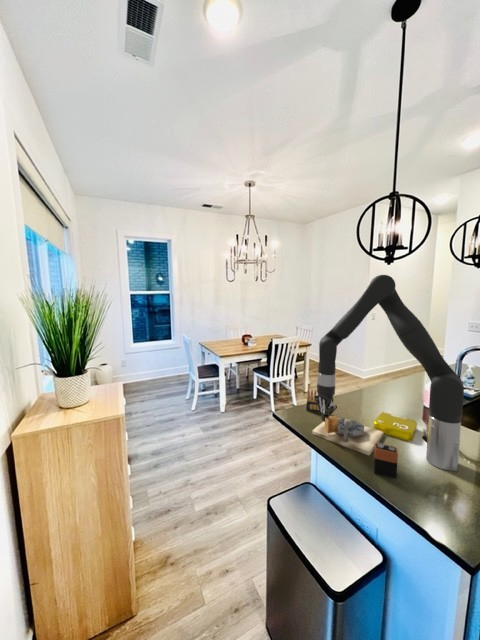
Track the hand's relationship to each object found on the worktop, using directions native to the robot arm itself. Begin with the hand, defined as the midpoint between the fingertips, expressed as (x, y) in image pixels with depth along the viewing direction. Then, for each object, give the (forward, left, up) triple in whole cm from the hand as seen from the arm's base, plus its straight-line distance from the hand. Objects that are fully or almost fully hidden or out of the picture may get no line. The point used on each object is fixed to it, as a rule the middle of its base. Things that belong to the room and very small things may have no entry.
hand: (324, 420), depth 118 cm
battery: (-27, +11, -6) cm, 30 cm away
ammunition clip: (+13, -19, -6) cm, 24 cm away
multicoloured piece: (-7, -4, -3) cm, 9 cm away
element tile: (-22, -25, -7) cm, 34 cm away
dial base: (-8, -6, -6) cm, 12 cm away
